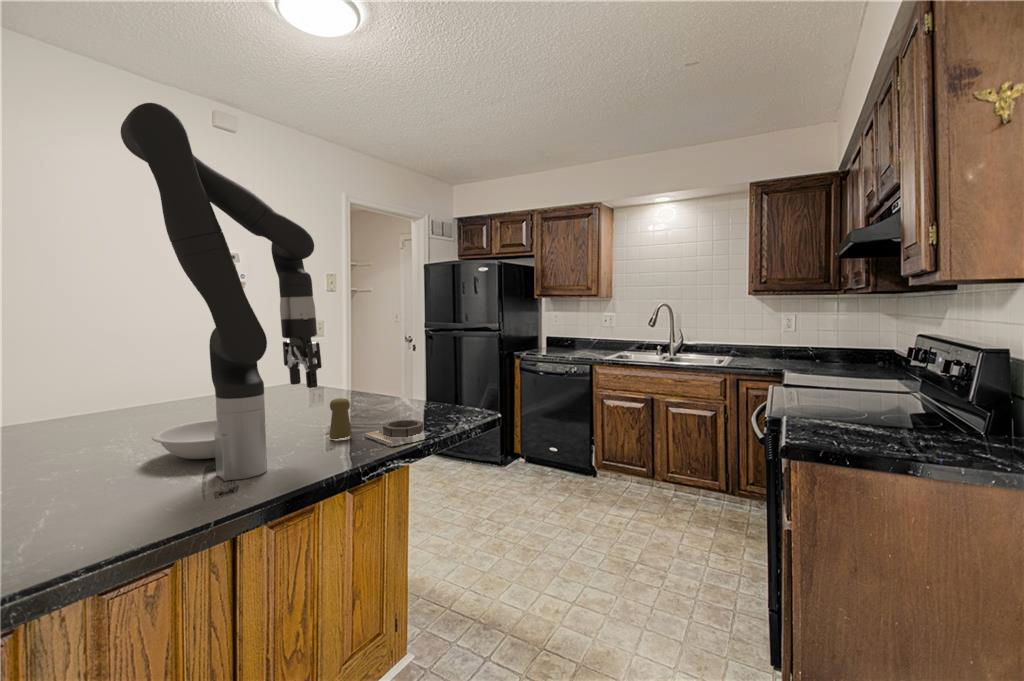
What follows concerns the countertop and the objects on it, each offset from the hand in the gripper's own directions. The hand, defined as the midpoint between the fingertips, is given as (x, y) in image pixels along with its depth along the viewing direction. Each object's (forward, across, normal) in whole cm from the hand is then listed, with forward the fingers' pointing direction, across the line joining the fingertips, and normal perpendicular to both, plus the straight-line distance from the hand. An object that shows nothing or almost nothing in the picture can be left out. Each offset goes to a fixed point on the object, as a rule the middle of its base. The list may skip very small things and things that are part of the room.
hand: (303, 385), depth 116 cm
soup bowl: (+17, -21, -14) cm, 31 cm away
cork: (+18, -12, +14) cm, 26 cm away
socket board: (+19, 0, +27) cm, 33 cm away
